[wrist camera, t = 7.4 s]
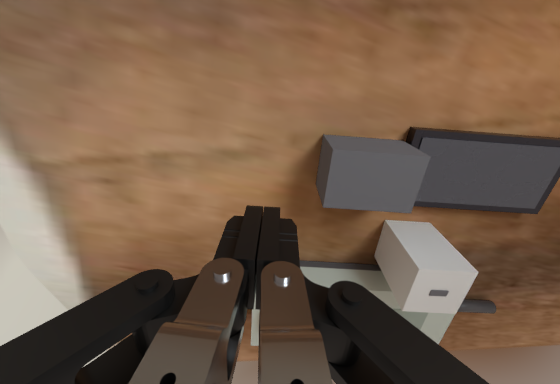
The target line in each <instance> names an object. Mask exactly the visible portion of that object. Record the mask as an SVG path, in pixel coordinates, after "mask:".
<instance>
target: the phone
mask: <svg viewBox="0 0 560 384" xmlns="http://www.w3.org/2000/svg"><path fill="white" fill-rule="evenodd" d="M406 143H408V144H410V145H411V146H413V147H415V148H417V149H418V150H420V151H422V152H423V153H425V154H427V155H429V156H430V160H429V163H428V166H427V169H426V172H425V175H424V177H423V180H422V183H421V186H420V189H419V192H418V194H417V197H416V200H415V203H414V206H421V207H437V208H452V209H468V210H483V211H499V212H514V213H530V214H538V212H539V211H540V209H541V207H542V206H543V204H544V202H545V201H546V199H547V197H548V196H549V194H550V192H551V191H552V189H553V187H554V186H555V184H556V182H557V181H558V179H559V177H560V138H553V137H540V136H526V135H513V134H499V133H486V132H473V131H459V130H446V129H433V128H419V127H410V130H409V133H408V136H407V140H406Z"/></svg>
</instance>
